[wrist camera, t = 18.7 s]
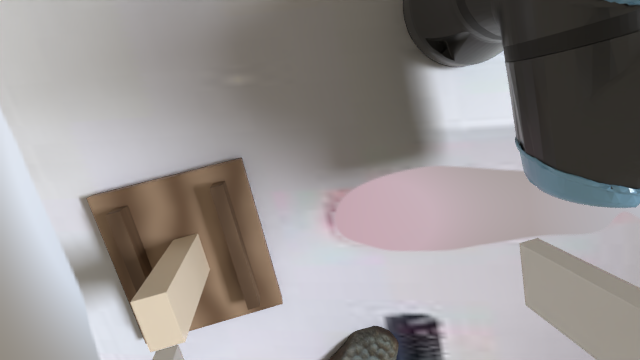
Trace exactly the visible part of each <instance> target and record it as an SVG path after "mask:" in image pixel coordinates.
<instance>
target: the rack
mask: <svg viewBox="0 0 640 360" xmlns="http://www.w3.org/2000/svg"><path fill="white" fill-rule="evenodd" d="M87 201H88V203H89V206H90V208H91V211H92V213H93V216H94V218H95V220H96V223H97V225H98V228H99V230H100V233H101V235H102V238H103V240H104V242H105V245H106V247H107V250H108V252H109V255H110V257H111V260H112V262H113V264H114V267H115V269H116V272H117V274H118V277H119V279H120V282H121V284H122V286H123V289H124V291H125V294H126V296H127V299H128V301H129V304H130V306H131V303H130V302H131V300H132V299H133V297H134V296H135V295H136V293H137V292H138V290H139V289H140V287H141V286H142V284H143V283H144V282H145V280H146V279H147V277H148V276H149V274H150V273H151V271H152V270H153V268H154V267H155V266H156V264H157V263H158V261H159V260H160V258H161V257H162V255H163V254H164V253H165V251H166V250H167V248H168V247H169V245H170V244H171V242H172V241H173V240H175V239H178V238H182V237H186V236H190V235H193V234H197V233H198V235H199V238H200V241H201V244H202V247H203V250H204V253H205V256H206V259H207V262H208V265H209V268H210V271H209V274H208V277H207V280H206V282H205V285H204V288H203V291H202V294H201V297H200V300H199V303H198V306H197V309H196V312H195V315H194V317H193V320H192V323H191V326H190V329H189V331H191V330H195V329H198V328H202V327H205V326H208V325H212V324H215V323H219V322H222V321H225V320H229V319H232V318H236V317H239V316H242V315H246V314H249V313H253V312H256V311H259V310H263V309H266V308H270V307H273V306H276V305H280V304H283V303H282V296H281V292H280V289H279V285H278V282H277V278H276V275H275V271H274V268H273V265H272V261H271V258H270V254H269V251H268V247H267V244H266V240H265V237H264V233H263V230H262V226H261V223H260V219H259V216H258V213H257V209H256V206H255V202H254V199H253V195H252V192H251V188H250V185H249V181H248V178H247V174H246V171H245V167H244V164H243V161H242V158H238V159H234V160H230V161H226V162H223V163H219V164H215V165H211V166H207V167H203V168H199V169H195V170H191V171H187V172H183V173H179V174H175V175H171V176H167V177H163V178H159V179H155V180H151V181H147V182H143V183H139V184H135V185H131V186H127V187H123V188H119V189H115V190H111V191H107V192H103V193H99V194H95V195H92V196H90V197H88V198H87ZM131 308H132V306H131ZM132 311H133V308H132ZM133 313H134V311H133ZM134 316H135V313H134ZM135 318H136V316H135ZM136 321H137V323H138V320H137V318H136ZM138 326H139V328H140V325H139V323H138ZM140 330H141V328H140ZM141 333H142V330H141ZM142 335H143V333H142ZM143 338H144V335H143ZM144 340H145V338H144ZM145 343H146V340H145ZM146 344H147V343H146Z"/></svg>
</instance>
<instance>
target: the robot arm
mask: <svg viewBox="0 0 640 360" xmlns="http://www.w3.org/2000/svg"><path fill="white" fill-rule="evenodd" d="M403 11H404V17H405V22H406V26H407V29H408V31H409V34H410V36H411V38H412V39H413V41H414V43H415V44H416V45H417V47H418V48H419V49H420V50H421V51H422V52H423V53H424V54H425V55H426V56H428V57H429V58H430V59H432V60H434V61H436V62H438V63H440V64H443V65H447V66H453V67H462V66H468V65H473V64H478V63H481V62H484V61H487V60H489V59H491V58H493V57H495V56H496V55H498V54H499V53H501V52H502V51H503V50H504V55H505V64H506V70H507V76H508V82H509V89H510V96H511V103H512V110H513V117H514V124H515V131H516V138H515V143H516V146H517V148H518V150H519V151H520V155H521V160H522V164H523V169H524V173H525V175H526V177H527V178H528V179H529V181H530V182H531V183H533V184H534V185H535V186H537V187H538V188H539V189H540V190H541V191H543V192H545V193H547V194H549V195H551V196H554V197H556V198H559V199H562V200H565V201H569V202H574V203H578V204H584V205H590V206H598V207H610V208H631V207H637V206H638V205H639V204H640V0H403ZM520 253H521V263H522V273H523V283H524V293H525V303H526V306H528V307H529V308H530V309H531V310H533V311H534V312H535V313H537V314H538V315H539V316H541V317H542V318H543V319H544V320H546V321H547V322H548V323H550V324H551V325H552V326H554V327H555V328H556V329H557V330H559V331H560V332H561V333H563V334H564V335H565V336H567V337H568V338H569V339H571V340H572V341H573V342H574V343H576V344H577V345H578V346H580V347H581V348H582V349H584V350H585V351H586V352H587V353H589V354H590V355H591V356H593V357H594V358H595V359H597V360H640V288H639V287H637V286H635V285H633V284H631V283H629V282H626V281H624V280H622V279H620V278H618V277H616V276H614V275H612V274H610V273H608V272H606V271H604V270H602V269H600V268H598V267H596V266H594V265H592V264H590V263H588V262H585V261H583V260H581V259H579V258H577V257H575V256H573V255H571V254H569V253H567V252H565V251H563V250H561V249H559V248H557V247H555V246H553V245H551V244H549V243H547V242H544V241H542V240H540V239H538V238H536V239H533V240H529V241H526V242H523V243H520ZM153 360H184V358H183V356H182V353H181V350H180V348H179V345H175V346H172V347H169V348H165V349H162V350H158V351H156V353H155V355H154V357H153Z"/></svg>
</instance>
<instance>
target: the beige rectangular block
mask: <svg viewBox="0 0 640 360" xmlns="http://www.w3.org/2000/svg"><path fill="white" fill-rule="evenodd" d="M209 271H210V268H209V265H208V262H207V259H206V256H205V253H204V250H203V247H202V244H201V241H200V238H199V235H198V233H197V234H193V235H190V236H186V237H182V238H178V239H175V240H173V241H172V242H171V244H170V245H169V247H168V248H167V250H166V251H165V253H164V254H163V255H162V257H161V258H160V260H159V261H158V263H157V264H156V266H155V267H154V268H153V270H152V271H151V273H150V274H149V276H148V277H147V279H146V280H145V282H144V283H143V284H142V286H141V287H140V289H139V290H138V292H137V293H136V295H135V296H134V297H133V299H132V300H131V302H130V303H131V306H132V308H133V311H134V313H135V316H136V318H137V320H138V323H139V325H140V328H141V330H142V333H143V335H144V338H145V340H146V343H147V345H148V347H149V350H150V352H153V351H156V350H160V349H163V348H166V347H170V346H173V345H177V344H180V343H183V342H185V341H186V338H187V335H188V332H189V329H190V326H191V323H192V320H193V317H194V315H195V312H196V309H197V306H198V303H199V300H200V297H201V294H202V291H203V288H204V285H205V282H206V280H207V277H208V274H209Z"/></svg>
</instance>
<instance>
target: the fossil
mask: <svg viewBox="0 0 640 360" xmlns="http://www.w3.org/2000/svg"><path fill="white" fill-rule="evenodd" d="M397 352H398V341H397V339H396V338H395V337H394V336H393V334H392V333H391V332H390V331H389V330H386V329H384V328H382V327H379V326H372V327H369V328H365V329H361V330H357V331H355V332H353V333H352V334H351V335H350V336H349V338H348V340H347V341H346V342H345V343H344V345H343V346H342V347H341V348H340V349H339V350H338V351H337V352H336V353H335V354H334V355H333V356H332V357H331V358H330V359H329V360H396V356H397Z"/></svg>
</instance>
